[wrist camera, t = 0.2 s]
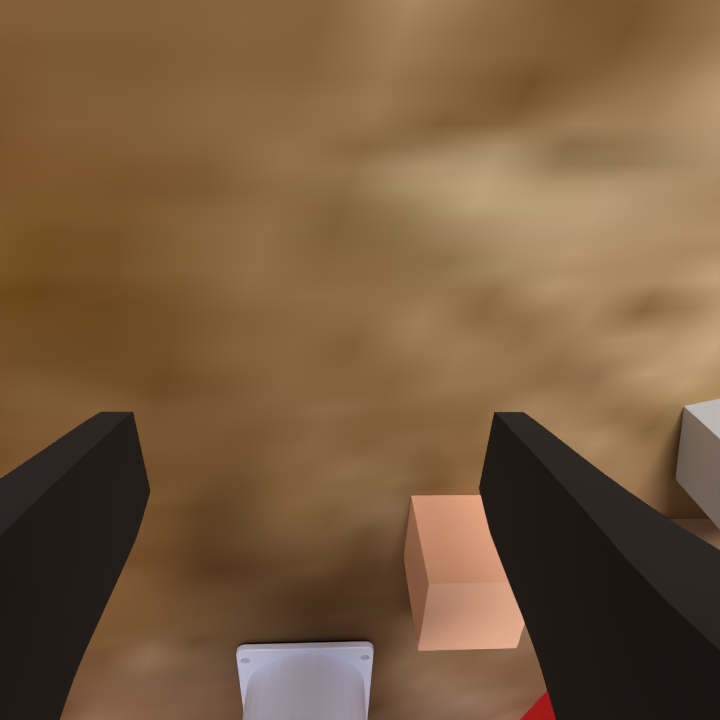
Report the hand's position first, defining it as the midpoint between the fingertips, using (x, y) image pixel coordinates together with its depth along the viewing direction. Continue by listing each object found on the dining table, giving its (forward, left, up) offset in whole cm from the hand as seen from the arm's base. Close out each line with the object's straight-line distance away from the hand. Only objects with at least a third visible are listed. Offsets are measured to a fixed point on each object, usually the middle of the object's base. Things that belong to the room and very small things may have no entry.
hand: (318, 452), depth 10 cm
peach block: (-13, -7, -10) cm, 18 cm away
